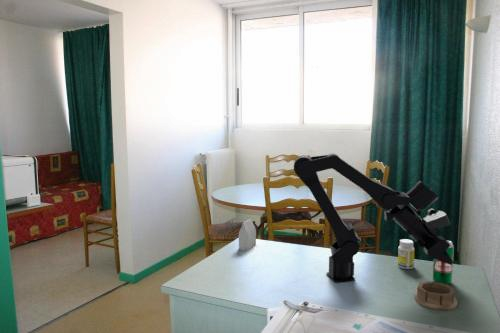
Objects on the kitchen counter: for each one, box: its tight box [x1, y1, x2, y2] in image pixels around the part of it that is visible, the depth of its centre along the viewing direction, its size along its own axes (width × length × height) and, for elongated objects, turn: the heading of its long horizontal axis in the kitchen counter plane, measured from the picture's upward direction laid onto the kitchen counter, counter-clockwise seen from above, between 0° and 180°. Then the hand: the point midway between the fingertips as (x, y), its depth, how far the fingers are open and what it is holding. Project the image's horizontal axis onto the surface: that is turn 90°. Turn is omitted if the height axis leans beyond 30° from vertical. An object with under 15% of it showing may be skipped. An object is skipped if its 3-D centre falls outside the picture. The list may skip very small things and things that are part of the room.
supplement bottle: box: [397, 238, 415, 270], centre depth 128 cm, size 5×5×8 cm
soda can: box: [432, 239, 455, 286], centre depth 116 cm, size 5×5×12 cm
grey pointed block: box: [238, 218, 257, 251], centre depth 148 cm, size 4×7×10 cm, turn 154°
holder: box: [414, 280, 458, 311], centre depth 105 cm, size 10×10×4 cm
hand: (448, 260), depth 116 cm, fingers closed on soda can, 5 cm apart
